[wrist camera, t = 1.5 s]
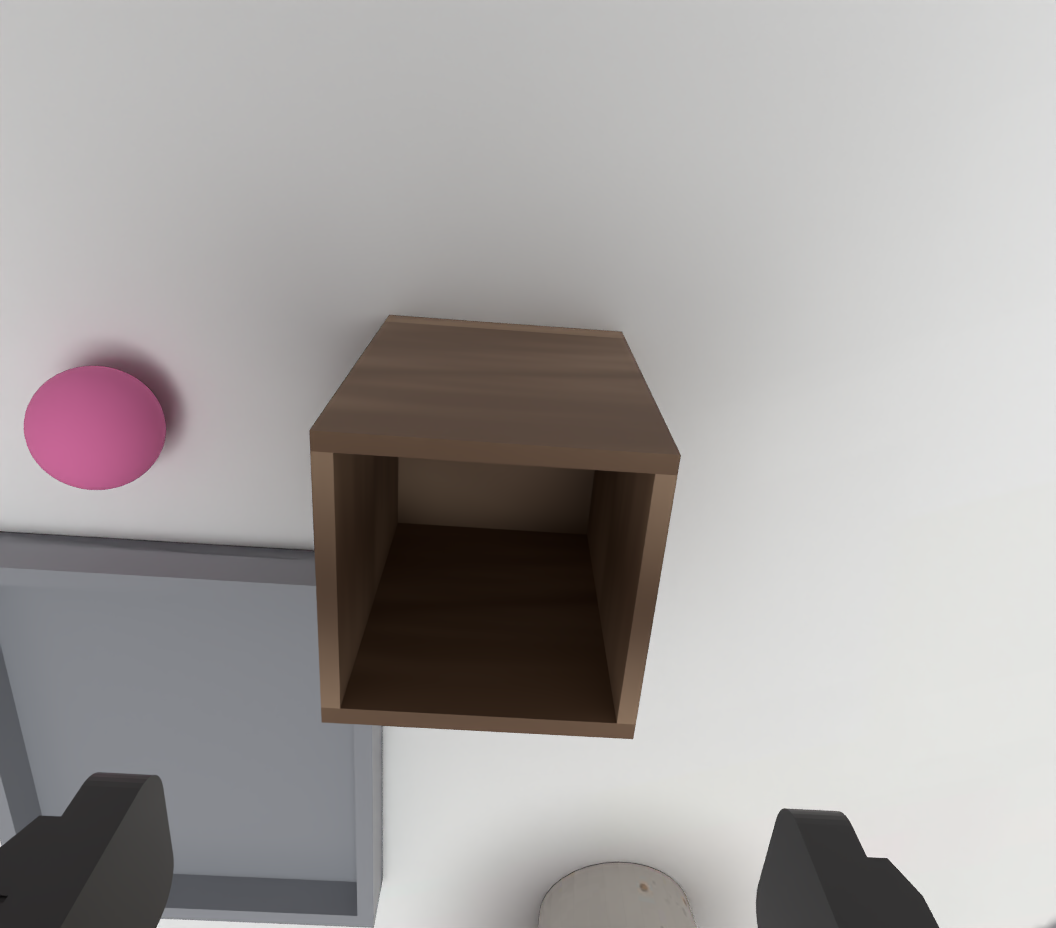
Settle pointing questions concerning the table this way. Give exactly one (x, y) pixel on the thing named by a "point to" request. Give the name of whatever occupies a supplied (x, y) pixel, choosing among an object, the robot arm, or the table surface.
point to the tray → (191, 718)
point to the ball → (94, 427)
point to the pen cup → (489, 530)
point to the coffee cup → (616, 899)
